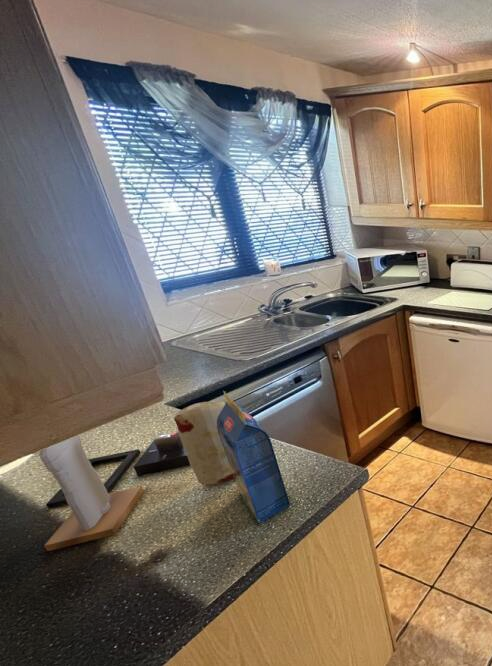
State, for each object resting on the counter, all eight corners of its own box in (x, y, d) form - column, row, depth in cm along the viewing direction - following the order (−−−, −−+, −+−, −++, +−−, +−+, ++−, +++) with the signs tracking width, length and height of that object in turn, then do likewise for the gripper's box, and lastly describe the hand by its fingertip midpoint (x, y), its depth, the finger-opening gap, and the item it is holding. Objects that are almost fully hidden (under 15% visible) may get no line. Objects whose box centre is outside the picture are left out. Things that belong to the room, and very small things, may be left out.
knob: (158, 451, 93) (152, 439, 92) (161, 447, 95) (155, 435, 93) (180, 447, 95) (175, 434, 94) (183, 443, 96) (178, 431, 95)
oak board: (47, 551, 72) (43, 545, 71) (86, 504, 82) (83, 498, 82) (115, 534, 75) (112, 528, 75) (144, 490, 86) (141, 485, 85)
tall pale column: (94, 498, 82) (47, 411, 74) (119, 491, 84) (76, 406, 76) (71, 536, 73) (15, 443, 65) (100, 527, 75) (49, 435, 67)
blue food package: (258, 524, 77) (222, 420, 68) (239, 494, 84) (204, 397, 75) (291, 504, 82) (261, 405, 72) (270, 478, 89) (241, 384, 80)
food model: (197, 495, 84) (165, 419, 77) (201, 476, 90) (173, 403, 82) (249, 478, 89) (224, 405, 82) (251, 461, 94) (228, 391, 87)
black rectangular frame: (48, 508, 81) (45, 504, 81) (90, 462, 94) (88, 459, 94) (108, 495, 85) (105, 490, 84) (141, 452, 98) (139, 448, 97)
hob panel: (137, 477, 90) (132, 466, 89) (157, 450, 99) (152, 440, 97) (194, 464, 93) (190, 454, 92) (207, 440, 102) (204, 430, 101)
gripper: (124, 307, 90) (145, 360, 96) (68, 339, 73) (97, 401, 78) (157, 304, 93) (176, 355, 98) (110, 334, 75) (136, 395, 80)
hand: (141, 376), depth 88 cm, fingers open, 8 cm apart
